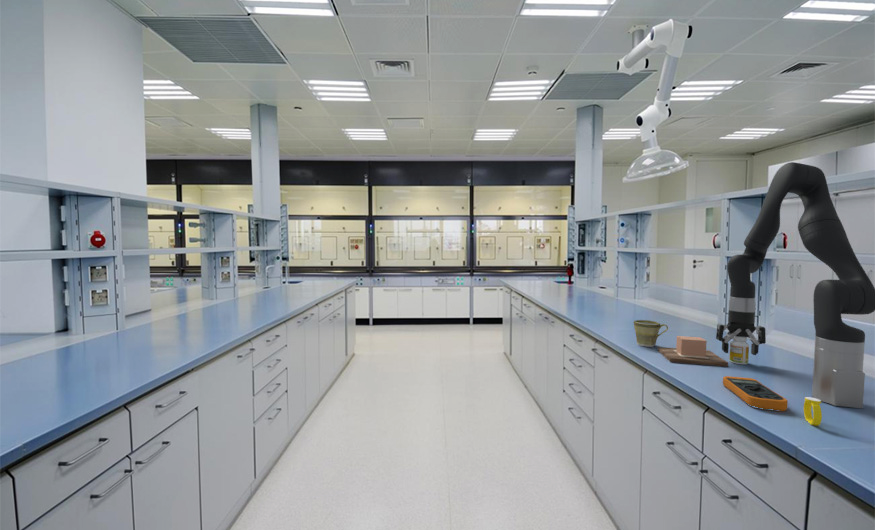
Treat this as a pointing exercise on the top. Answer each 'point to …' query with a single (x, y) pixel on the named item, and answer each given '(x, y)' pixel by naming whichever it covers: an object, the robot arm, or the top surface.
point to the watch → (817, 414)
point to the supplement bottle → (739, 350)
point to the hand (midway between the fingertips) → (739, 353)
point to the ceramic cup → (647, 332)
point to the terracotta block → (691, 346)
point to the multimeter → (755, 393)
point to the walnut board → (692, 357)
